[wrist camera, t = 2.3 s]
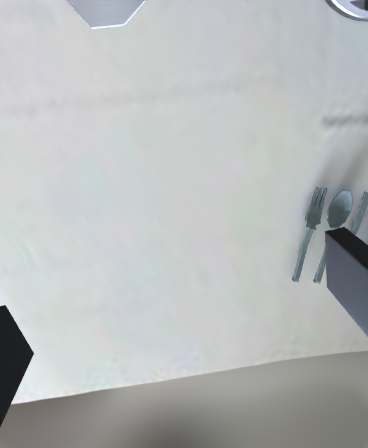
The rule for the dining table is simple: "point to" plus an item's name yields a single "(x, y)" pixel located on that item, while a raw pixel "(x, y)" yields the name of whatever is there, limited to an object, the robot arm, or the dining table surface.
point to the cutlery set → (335, 218)
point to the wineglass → (105, 11)
